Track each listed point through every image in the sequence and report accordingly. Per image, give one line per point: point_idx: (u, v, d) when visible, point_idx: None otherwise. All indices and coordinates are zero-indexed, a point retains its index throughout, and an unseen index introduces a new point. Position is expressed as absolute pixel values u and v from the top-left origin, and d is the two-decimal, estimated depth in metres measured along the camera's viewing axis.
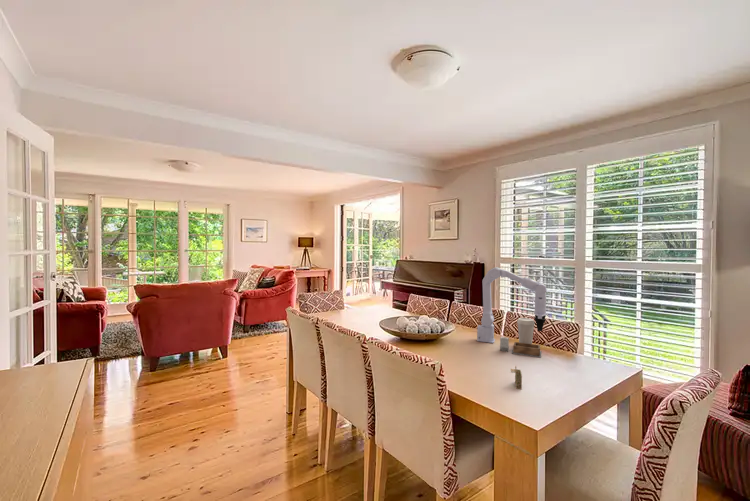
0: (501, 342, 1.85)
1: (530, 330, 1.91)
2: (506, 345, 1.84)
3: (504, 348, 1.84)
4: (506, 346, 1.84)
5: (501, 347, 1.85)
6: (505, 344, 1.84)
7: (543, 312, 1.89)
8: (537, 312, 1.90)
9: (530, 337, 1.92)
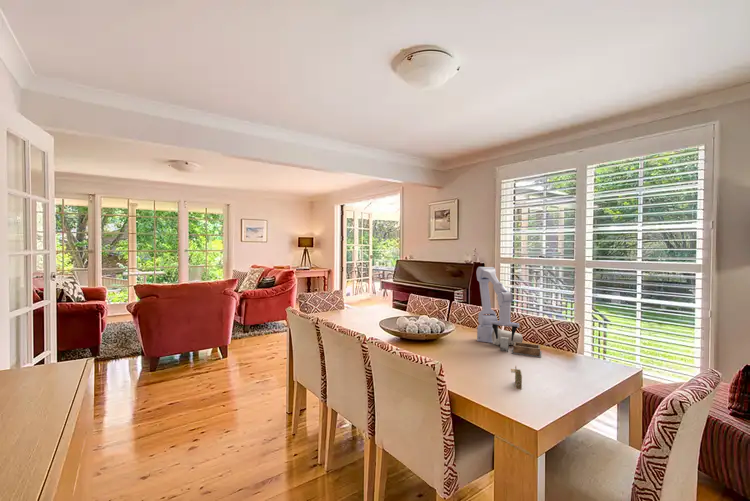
0: (501, 342, 1.85)
1: (506, 335, 1.92)
2: (506, 345, 1.84)
3: (504, 348, 1.84)
4: (506, 346, 1.84)
5: (501, 347, 1.85)
6: (505, 344, 1.84)
7: (500, 321, 1.85)
8: None
9: None
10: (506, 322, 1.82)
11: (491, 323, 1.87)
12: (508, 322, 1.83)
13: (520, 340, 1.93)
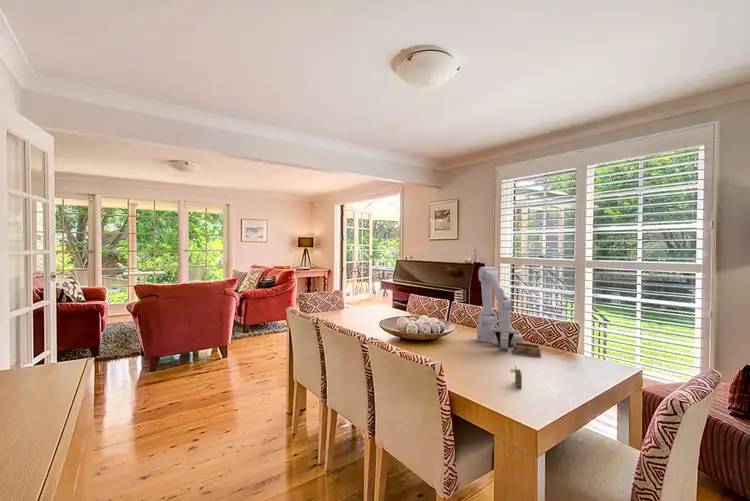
0: (501, 342, 1.85)
1: (506, 335, 1.92)
2: (506, 345, 1.84)
3: (504, 348, 1.84)
4: (506, 346, 1.84)
5: (501, 347, 1.85)
6: (505, 344, 1.84)
7: (499, 328, 1.85)
8: None
9: None
10: (506, 329, 1.83)
11: (491, 330, 1.87)
12: (508, 329, 1.83)
13: (520, 340, 1.93)
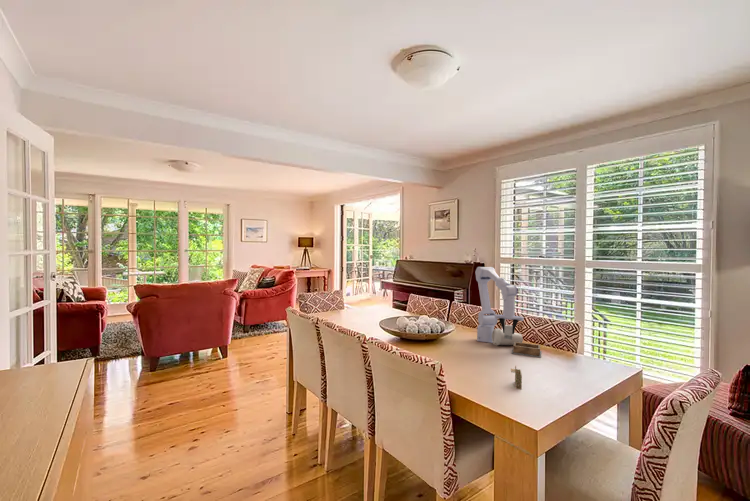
0: (505, 330, 1.84)
1: None
2: (510, 333, 1.83)
3: (508, 336, 1.83)
4: (510, 334, 1.83)
5: (505, 335, 1.84)
6: (510, 332, 1.83)
7: (504, 314, 1.84)
8: None
9: (513, 335, 1.93)
10: (510, 315, 1.82)
11: (495, 317, 1.87)
12: (512, 315, 1.82)
13: (520, 340, 1.93)
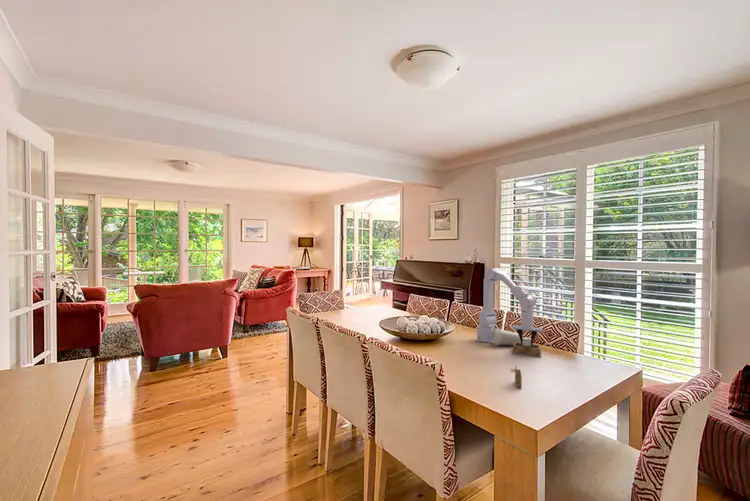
0: (523, 342, 1.81)
1: (506, 335, 1.92)
2: (529, 346, 1.80)
3: None
4: None
5: None
6: (528, 345, 1.80)
7: (522, 326, 1.81)
8: None
9: (513, 335, 1.93)
10: (529, 327, 1.78)
11: (513, 328, 1.83)
12: (531, 327, 1.79)
13: (520, 340, 1.93)
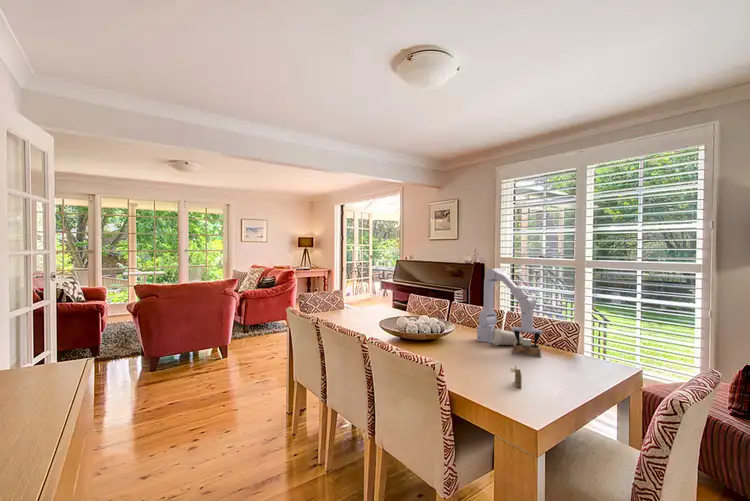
0: (523, 344, 1.81)
1: (506, 335, 1.92)
2: None
3: None
4: None
5: None
6: (528, 346, 1.80)
7: (522, 327, 1.81)
8: None
9: (513, 335, 1.93)
10: (529, 329, 1.79)
11: (513, 329, 1.83)
12: (531, 329, 1.79)
13: (520, 340, 1.93)
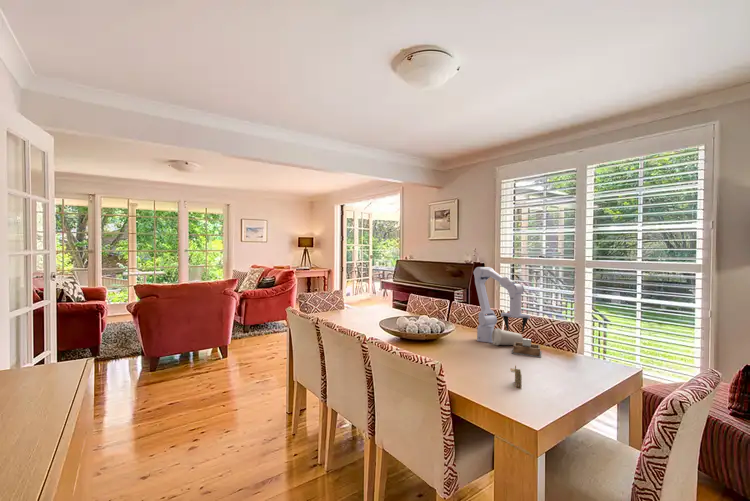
0: (523, 344, 1.81)
1: (506, 335, 1.92)
2: None
3: None
4: None
5: None
6: (528, 346, 1.80)
7: (510, 312, 1.86)
8: None
9: (513, 335, 1.93)
10: (517, 314, 1.84)
11: (502, 315, 1.88)
12: (519, 314, 1.84)
13: (520, 340, 1.93)
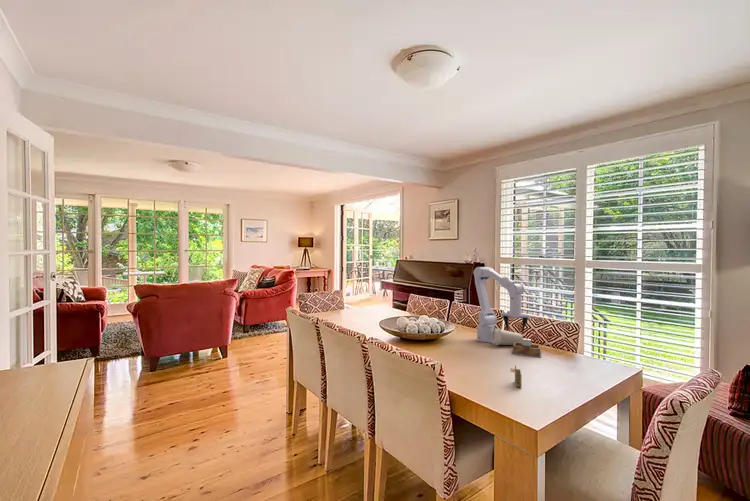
0: (523, 344, 1.81)
1: (506, 335, 1.92)
2: None
3: None
4: None
5: None
6: (528, 346, 1.80)
7: (510, 312, 1.86)
8: None
9: (513, 335, 1.93)
10: (517, 314, 1.84)
11: (502, 315, 1.88)
12: (519, 314, 1.84)
13: (520, 340, 1.93)
